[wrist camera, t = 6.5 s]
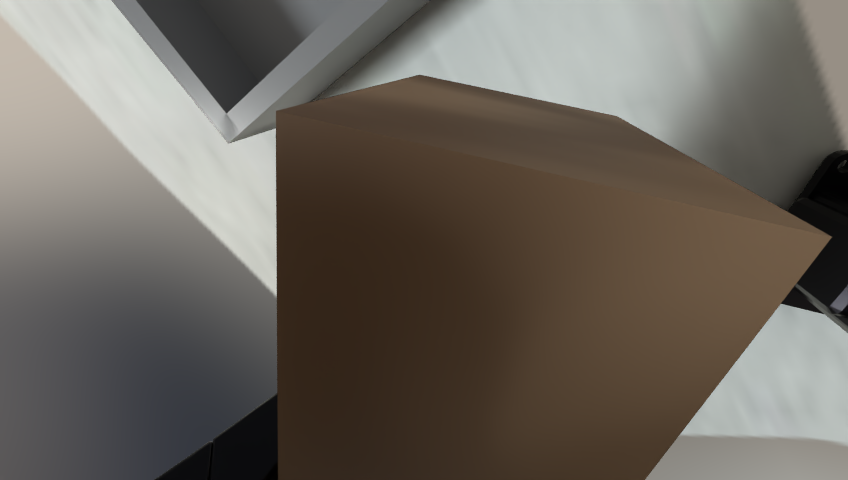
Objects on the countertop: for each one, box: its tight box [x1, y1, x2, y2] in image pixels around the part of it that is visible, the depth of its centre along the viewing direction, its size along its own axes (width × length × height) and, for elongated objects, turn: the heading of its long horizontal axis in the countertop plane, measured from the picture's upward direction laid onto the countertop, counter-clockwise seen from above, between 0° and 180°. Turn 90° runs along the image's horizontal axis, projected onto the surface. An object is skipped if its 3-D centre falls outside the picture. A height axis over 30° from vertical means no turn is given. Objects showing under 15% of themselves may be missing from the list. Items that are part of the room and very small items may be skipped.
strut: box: [276, 75, 832, 480], centre depth 7 cm, size 4×12×6 cm, turn 170°
